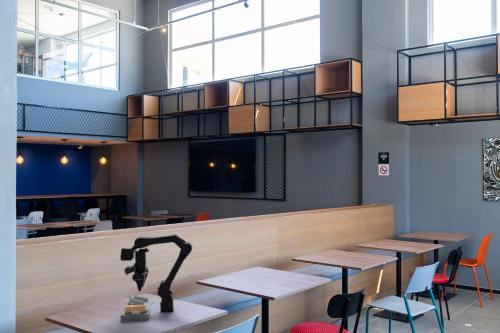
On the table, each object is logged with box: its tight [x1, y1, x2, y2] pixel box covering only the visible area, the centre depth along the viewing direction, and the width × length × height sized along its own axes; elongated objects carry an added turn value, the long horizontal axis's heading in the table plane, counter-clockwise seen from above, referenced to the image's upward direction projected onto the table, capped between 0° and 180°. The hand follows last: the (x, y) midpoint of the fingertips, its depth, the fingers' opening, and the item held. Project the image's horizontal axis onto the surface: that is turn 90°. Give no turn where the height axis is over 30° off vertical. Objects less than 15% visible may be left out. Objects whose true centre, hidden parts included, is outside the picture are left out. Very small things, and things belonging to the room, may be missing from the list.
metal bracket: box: [126, 294, 155, 310], centre depth 271 cm, size 14×6×15 cm
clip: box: [124, 304, 147, 314], centre depth 246 cm, size 10×2×6 cm, turn 95°
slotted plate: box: [120, 309, 152, 322], centre depth 246 cm, size 14×8×3 cm, turn 95°
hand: (140, 289), depth 258 cm, fingers open, 9 cm apart
